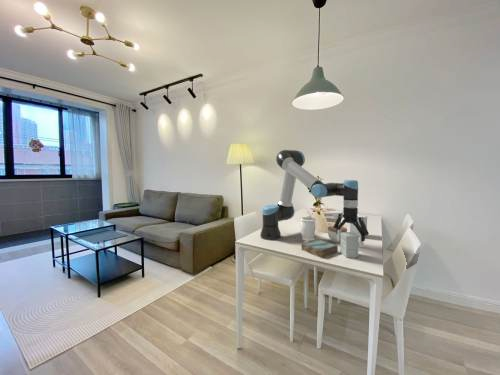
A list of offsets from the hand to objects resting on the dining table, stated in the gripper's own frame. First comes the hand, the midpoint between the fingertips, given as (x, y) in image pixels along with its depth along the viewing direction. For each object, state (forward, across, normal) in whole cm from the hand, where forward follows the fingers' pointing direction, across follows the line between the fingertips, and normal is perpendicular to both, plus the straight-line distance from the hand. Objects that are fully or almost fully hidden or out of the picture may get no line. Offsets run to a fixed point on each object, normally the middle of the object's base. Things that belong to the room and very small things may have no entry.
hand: (349, 243), depth 126 cm
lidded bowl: (+7, -19, +16) cm, 26 cm away
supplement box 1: (+7, 0, 0) cm, 7 cm away
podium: (+7, -14, -9) cm, 18 cm away
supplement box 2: (+7, -17, +39) cm, 43 cm away
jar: (+7, -33, +2) cm, 34 cm away
